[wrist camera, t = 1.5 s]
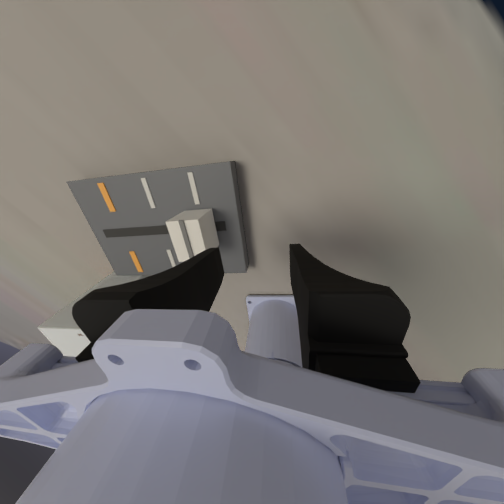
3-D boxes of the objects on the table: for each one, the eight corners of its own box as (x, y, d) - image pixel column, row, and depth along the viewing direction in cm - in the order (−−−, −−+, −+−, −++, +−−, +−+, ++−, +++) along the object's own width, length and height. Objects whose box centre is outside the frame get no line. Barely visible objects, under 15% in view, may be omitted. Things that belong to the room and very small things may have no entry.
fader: (219, 244, 20) (207, 262, 17) (194, 246, 21) (178, 263, 17) (211, 208, 18) (197, 219, 15) (184, 210, 19) (164, 221, 16)
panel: (248, 263, 24) (246, 273, 22) (127, 267, 27) (116, 275, 25) (234, 160, 18) (229, 161, 16) (84, 179, 21) (65, 181, 19)
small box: (117, 267, 27) (33, 326, 18) (152, 267, 26) (82, 328, 17) (137, 308, 31) (76, 374, 21) (168, 309, 30) (118, 378, 20)
